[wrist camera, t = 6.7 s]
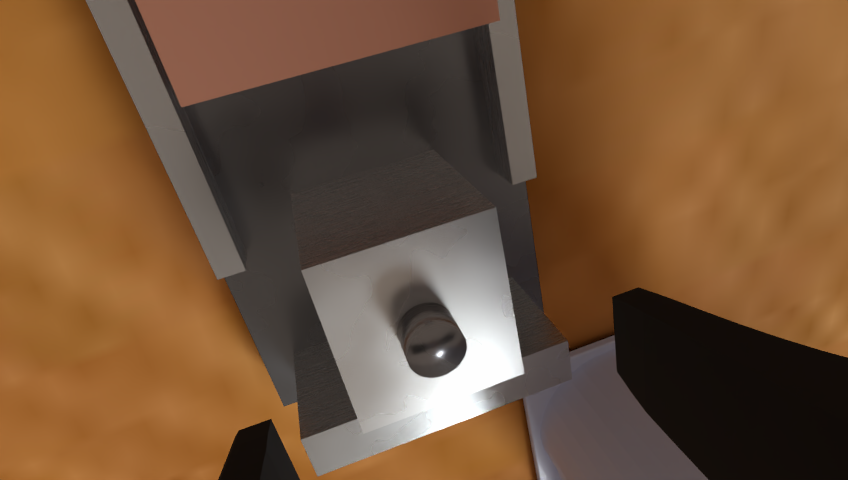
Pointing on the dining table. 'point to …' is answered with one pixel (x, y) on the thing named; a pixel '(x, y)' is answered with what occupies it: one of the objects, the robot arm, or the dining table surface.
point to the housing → (408, 286)
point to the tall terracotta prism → (289, 36)
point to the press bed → (333, 159)
